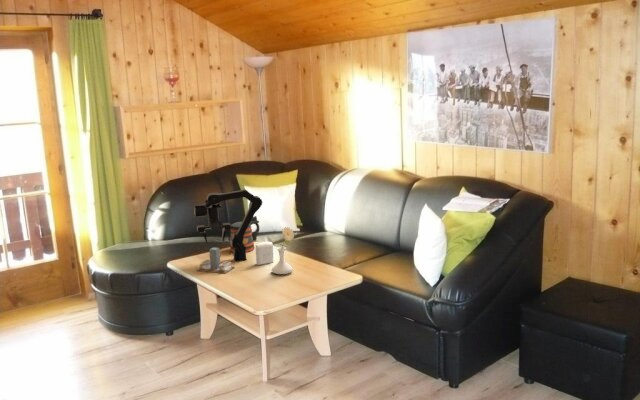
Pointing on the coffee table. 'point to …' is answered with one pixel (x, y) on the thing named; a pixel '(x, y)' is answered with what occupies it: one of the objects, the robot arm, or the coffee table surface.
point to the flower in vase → (282, 265)
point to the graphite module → (214, 258)
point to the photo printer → (264, 253)
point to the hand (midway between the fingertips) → (214, 242)
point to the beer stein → (246, 234)
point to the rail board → (223, 268)
